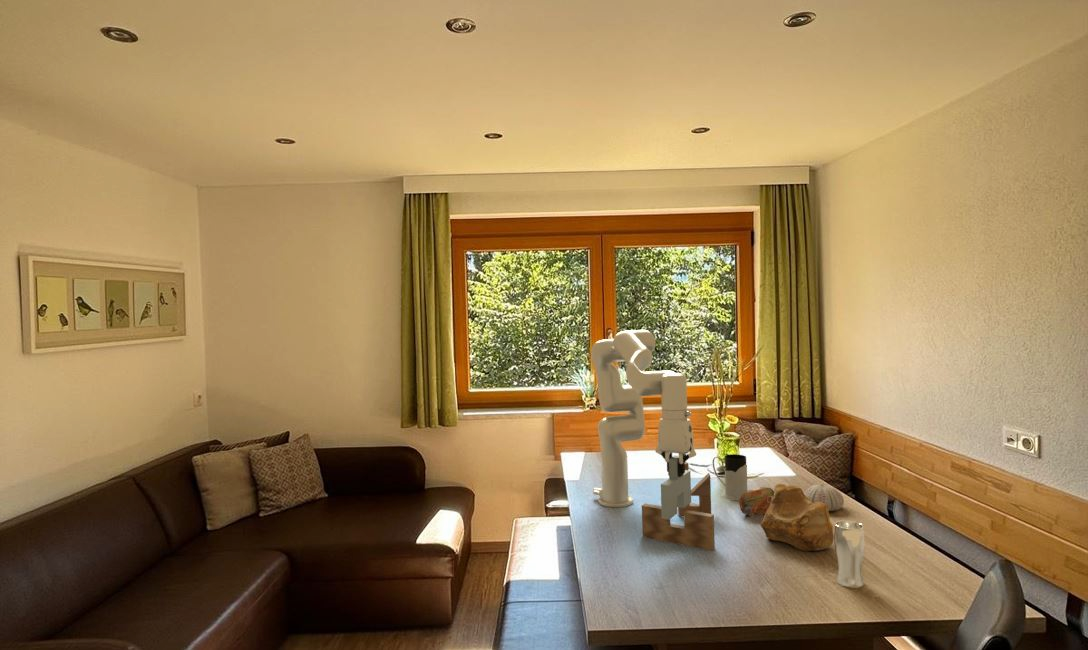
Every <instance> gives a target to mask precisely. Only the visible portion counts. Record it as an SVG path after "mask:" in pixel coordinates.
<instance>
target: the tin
mask: <svg viewBox="0 0 1088 650" xmlns="http://www.w3.org/2000/svg"><path fill="white" fill-rule="evenodd" d="M773 496H774V490H773V489H772V488H771V487H766V486H760V487H756V488H752V489H747V491H745V492H744V493H743V494H742V495H741V497H740V501H739V509H740V511H741V512H742V513H743V514H744V515H747V516H749V517H755V516H759V515H763V514H764V515H765V513H766V511H767V509H768V508H769V506H770V503H771V501H772V499H773Z"/></svg>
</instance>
